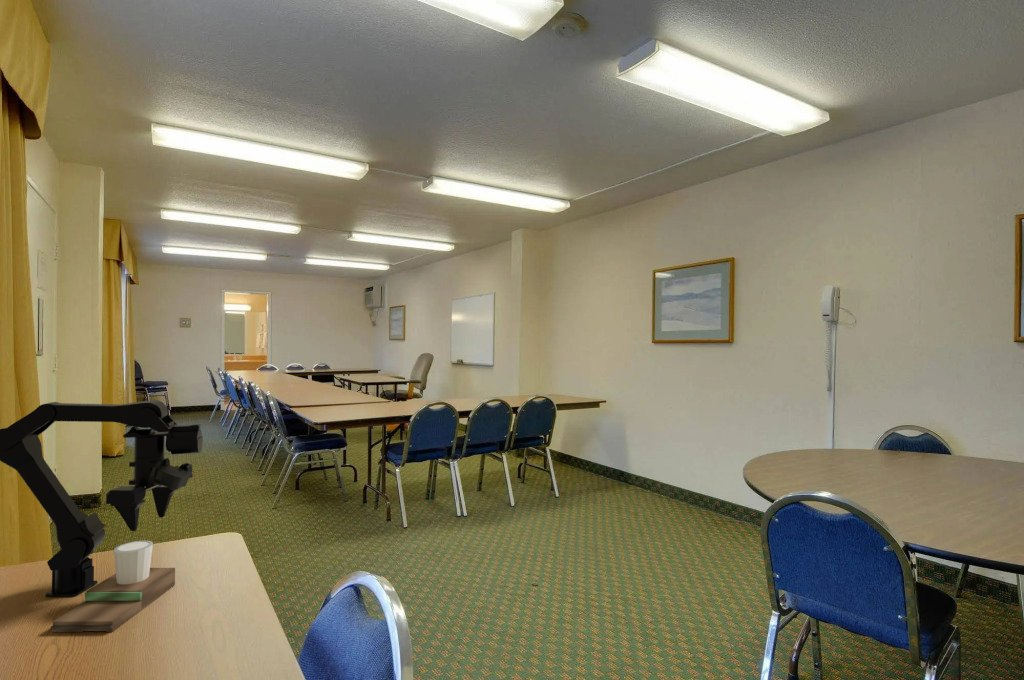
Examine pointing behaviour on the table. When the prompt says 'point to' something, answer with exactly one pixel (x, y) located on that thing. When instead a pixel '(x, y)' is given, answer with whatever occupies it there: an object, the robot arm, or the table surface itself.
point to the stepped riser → (115, 602)
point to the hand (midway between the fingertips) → (148, 523)
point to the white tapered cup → (133, 561)
